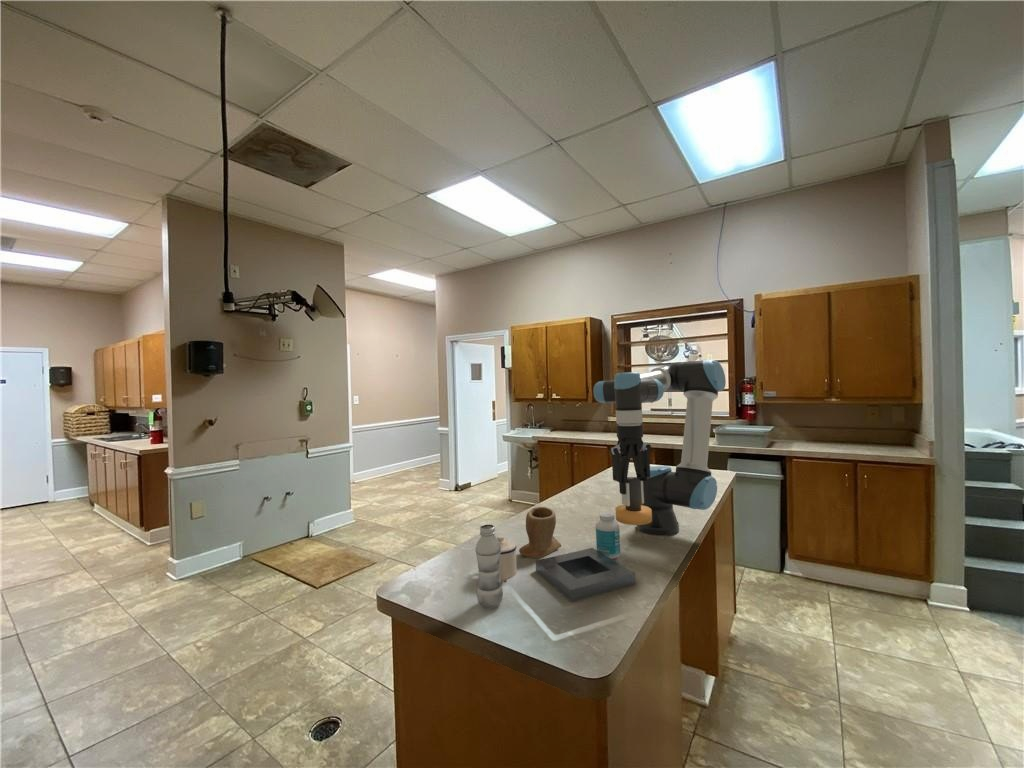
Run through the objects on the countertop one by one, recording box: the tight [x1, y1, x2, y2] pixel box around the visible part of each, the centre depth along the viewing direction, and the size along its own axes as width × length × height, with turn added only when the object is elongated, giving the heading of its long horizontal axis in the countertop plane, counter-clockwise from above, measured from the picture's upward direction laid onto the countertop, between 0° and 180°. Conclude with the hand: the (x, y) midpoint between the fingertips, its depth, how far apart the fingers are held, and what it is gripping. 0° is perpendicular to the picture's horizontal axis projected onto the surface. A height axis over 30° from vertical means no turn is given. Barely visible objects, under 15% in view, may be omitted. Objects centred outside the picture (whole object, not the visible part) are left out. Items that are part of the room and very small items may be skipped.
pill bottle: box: [595, 512, 621, 560], centre depth 131 cm, size 8×7×14 cm
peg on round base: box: [615, 476, 652, 526], centre depth 121 cm, size 10×10×12 cm
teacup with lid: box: [496, 535, 518, 583], centre depth 122 cm, size 12×9×12 cm
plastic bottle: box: [475, 523, 504, 609], centre depth 105 cm, size 6×7×20 cm
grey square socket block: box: [535, 547, 636, 603], centre depth 116 cm, size 20×20×4 cm
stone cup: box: [518, 506, 562, 559], centre depth 137 cm, size 15×12×15 cm
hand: (633, 503), depth 121 cm, fingers closed on peg on round base, 4 cm apart
